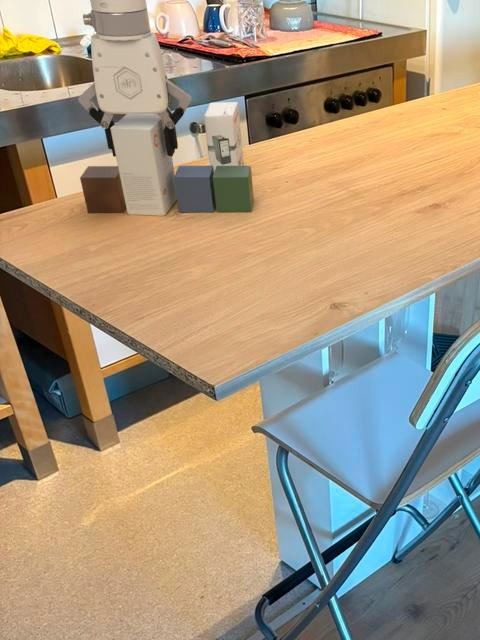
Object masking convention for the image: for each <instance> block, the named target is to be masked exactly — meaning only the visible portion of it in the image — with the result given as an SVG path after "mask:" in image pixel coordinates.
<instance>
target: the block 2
mask: <svg viewBox="0 0 480 640" xmlns="http://www.w3.org/2000/svg"><path fill="white" fill-rule="evenodd" d="M213 175H214V168H213V166H210V165H178V166H177V169H176V171H175V176H174V182H175V188H176V195H177V200H176V202H177V207H178V213H214V212H215V209H216V200H215V192H214V184H213Z"/></svg>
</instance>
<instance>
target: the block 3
mask: <svg viewBox="0 0 480 640" xmlns="http://www.w3.org/2000/svg"><path fill="white" fill-rule="evenodd" d="M213 184H214V192H215V200H216V206H215V209H216V212H217V213H252V210H253V204H254V201H255V199H254V198H255V197H254V188H253V187H254V186H253V176H252V166H251V165H244V166H216V169H215V172H214V175H213Z"/></svg>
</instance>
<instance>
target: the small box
mask: <svg viewBox="0 0 480 640" xmlns="http://www.w3.org/2000/svg"><path fill="white" fill-rule="evenodd" d="M115 123H116V124H115V125H113V126H112V127H111V128H110V129H111V134H112V139H113V144H114V149H115V154H116V157H115V158H116V163H117V166H118V169H119V174H120V179H121V184H122V189H123V194H124V199H125V204H126V207H125V210H126V212H127V214H128V215H135V216H136V215H138V216H159V217H161V216H166V215H167V213H168V212H169V211H170V210H171V208H172V207H173V205H174V204H176V202H177V195H176V188H175V182H174V176H175V174H176V172H175V167H174V161H173V156H169V155H167V149H166V143H165V136H164V128H165V123H164V122H163V121H162V119H161V118H160V117H159V115H158V114H124V116H122V117H121V118H120V119H119V120H118V121H117V122H115Z"/></svg>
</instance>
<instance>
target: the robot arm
mask: <svg viewBox="0 0 480 640" xmlns="http://www.w3.org/2000/svg"><path fill="white" fill-rule="evenodd" d="M89 2H90V7H91V10H90V12H88V13H87V14H86V13H83V14H82V21H83V24H84V26H90V27H92V28H93V30H94V34H93V35H91V36H90V51H91V53H90V54H91V64H92V73H93V80H94V82H93V83H92V84H91V85H90V86H89V87H88V88H87V89H86V90H84V92H82V93H81V94H80V95H79V97H78V98H77V99H78V100H77V101H78V103H79V104H80V105H81V106H82V107H83V108H84V110H86V112H88V115H89V116H90V117H91V118H93V120H95V121H96V122H97V123H98V124H99V125H100V127H101V128H102V129H103V130H104V133H105V138H106V144H107V148H108V150H111V152H112V156H113V158H116V154H115V149H114V144H113V139H112V134H111V129H110V128H111V127H112V126H113V125H115V124H116V123H117V122H115V121H114V118H115V116H116V115H126V114H158V115H159V117H160V118H161V119H162V121H163V122H164V123H165V128H164V136H165V143H166V149H167V155H169V156H172V157H174V155H175V153H176V150H178V148H179V144H178V136H177V129H176V125H177V124H178V123H179V122H180V120H181V119H182V118H183V116H184V115H185V112H186V111H187V109H188V107H189V106H190V103H191V101H192V96H191V95H190V94H188V93H187V92H186V91H184V90H183V89H182V88H180V87H179V86H178V85H176V84H175V83H173V82H172V81H170V80H169V79H168V75H167V70H166V65H165V61H164V58H163V54H162V51H161V47H160V44H159V41H158V38H157V35H156V33H155V32H152V30H151V25H150V18H149V12H148V6H147V0H89ZM95 96H96V101H97V104H98V106H97V105H96V104H95V103H94V101H93V98H94V97H95ZM171 96H172V97H174V98H175V99H177V100H178V106H177V107H176V108H175V110H174V111H172V110H171V109H170V107H169V104H171Z"/></svg>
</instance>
